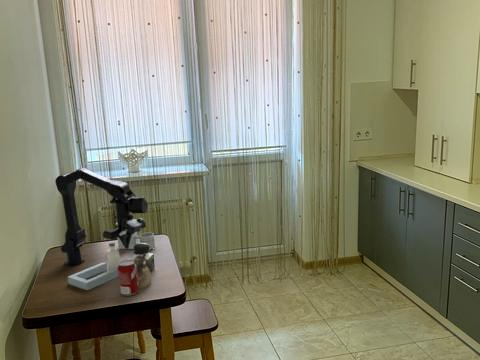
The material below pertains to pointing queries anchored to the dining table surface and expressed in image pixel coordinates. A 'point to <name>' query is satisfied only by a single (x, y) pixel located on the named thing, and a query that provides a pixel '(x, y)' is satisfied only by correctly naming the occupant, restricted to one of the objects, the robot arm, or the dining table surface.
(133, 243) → the supplement box
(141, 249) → the medicine bottle
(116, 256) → the white bottle
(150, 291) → the dining table surface
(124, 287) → the soda can
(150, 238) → the mug
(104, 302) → the dining table surface
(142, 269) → the figurine
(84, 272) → the u rest
